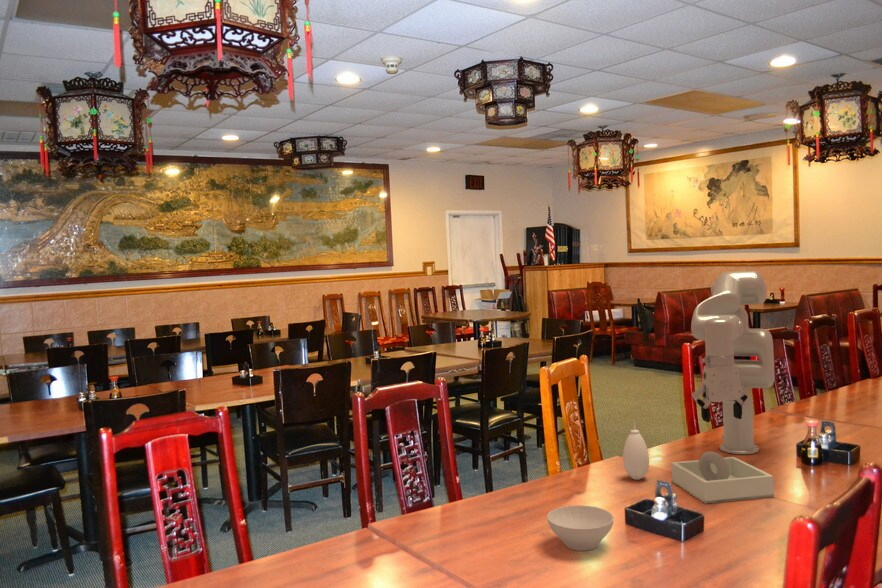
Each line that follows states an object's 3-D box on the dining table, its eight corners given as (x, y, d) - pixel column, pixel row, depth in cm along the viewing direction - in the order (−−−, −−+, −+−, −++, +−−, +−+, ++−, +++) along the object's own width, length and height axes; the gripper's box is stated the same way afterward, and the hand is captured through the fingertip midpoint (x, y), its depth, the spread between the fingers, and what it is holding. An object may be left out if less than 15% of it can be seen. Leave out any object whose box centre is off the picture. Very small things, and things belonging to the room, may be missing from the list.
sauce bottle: (650, 483, 214) (648, 424, 214) (624, 482, 216) (622, 424, 215) (648, 475, 222) (646, 419, 221) (623, 475, 224) (620, 419, 223)
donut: (697, 482, 211) (694, 449, 210) (704, 479, 212) (702, 446, 212) (725, 490, 202) (723, 456, 201) (733, 487, 204) (731, 453, 203)
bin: (671, 481, 214) (671, 462, 214) (734, 475, 217) (733, 456, 217) (705, 504, 194) (704, 482, 194) (774, 497, 197) (773, 476, 196)
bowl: (568, 527, 182) (567, 501, 182) (626, 540, 172) (624, 512, 172) (535, 549, 170) (534, 520, 170) (595, 564, 160) (594, 534, 160)
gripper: (698, 365, 197) (700, 425, 198) (755, 360, 199) (757, 419, 200) (685, 361, 205) (687, 419, 206) (740, 356, 207) (742, 414, 208)
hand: (722, 419), depth 203 cm, fingers open, 9 cm apart
